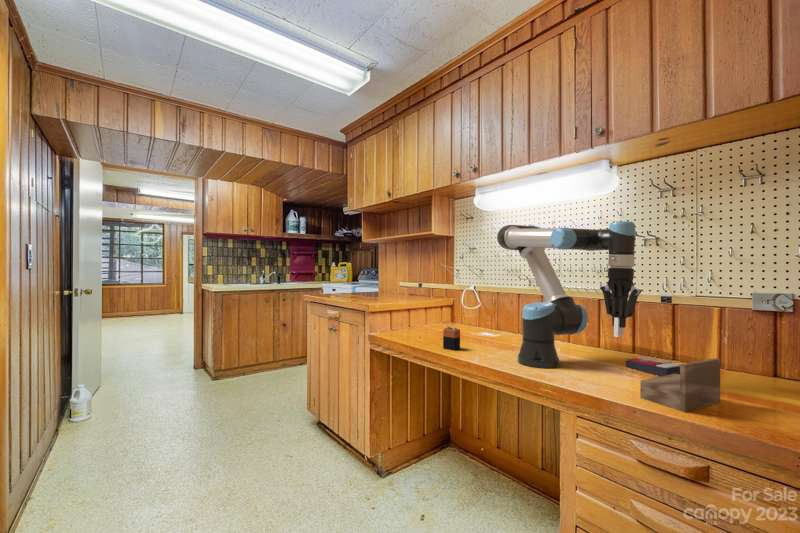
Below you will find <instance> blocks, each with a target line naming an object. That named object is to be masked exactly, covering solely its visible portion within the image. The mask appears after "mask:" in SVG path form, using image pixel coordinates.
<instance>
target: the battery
mask: <svg viewBox="0 0 800 533" xmlns="http://www.w3.org/2000/svg"><path fill="white" fill-rule="evenodd" d="M442 330H443V331H442V334H443V335H442V347H443V349H444V350H449V349H450V351H454V350H455V351H458V349H459V350H460V349H461V329H460V328H457V327H452V326H447V325H446V328H443V329H442Z"/></svg>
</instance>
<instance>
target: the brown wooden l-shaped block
mask: <svg viewBox="0 0 800 533" xmlns="http://www.w3.org/2000/svg"><path fill="white" fill-rule="evenodd" d="M679 364H680V375H679V374H670V375H665V376H655V377H650V378H645V379H641V380H640V382H639V383H640V388H639V390H640V393H639V396H640V399H643V400H646V401H650V402H652V403H656V404H657V405H661V406H665V407H668V408H671V409H674V410H677V411H680V412H683V413H687V412H690V411H691V410H692V411H695V410H698V408H699V409H703V408H705V406H706V407H709V406H711V405H712V404H713V405H716V404H719V403H721V359H720V358H715V357H714V358H709V359H704V360H703V359H702V360H697V361H692V362H687V363H679ZM694 409H695V410H694Z"/></svg>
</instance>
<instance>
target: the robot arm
mask: <svg viewBox="0 0 800 533" xmlns="http://www.w3.org/2000/svg"><path fill="white" fill-rule="evenodd" d="M496 235H497V236H496V242H498V243H497V244H498V245H499V246H500V247H501V248H503V249H505V250H509V251H518V252H519V255H520V257H521V258H522V259H525V260H526V262H527V264H528V266H529V269H530V270H531V273H532V275H533V277H534V279H535V281H536V283H537V286H538V288H539V290H540V292H541V293H540V294H542V297H543V298H544V300H545V301H540V302H538V301H536V302H531V303H527V304H525V305H523V309H522V315H521V318H522V343H521V345H520V346H521V347H520V349H519V353H518V355H517V362H518V363H520V364H521V365H524V366H528V367H532V368H533V367H534V368H541V369H543V368H544V369H550V368H551V369H553V368H556V367H559V366H560V358H559V356H558V352H557V349H556V346H555V336H562V335H563V336H564V335H575V334H580V333H582V332H583V331H584V330H585V329H586V327H587V323H588V322H589V317H588V312H587V310H586V308H585V307H584V306H583V305H580V304H576V302H575V300H574V299H573V297H572V296H570V295H567V293H566V291H565V289H564V288H563V285H562V283H561V281H560V279H559V278H558V275H557V273H556V271H555V269H554V268H553V265H552V263H551V261H550V259H549V257H548V255H547V253H546V252H545V250H546V249H557V250H565V251H566V250H573V251H574V250H577V251H580V250H581V251H589V252H590V251H591V252H593V251H608V259H607V260H608V261H607V262H608V263H607V264H608V266H609V267H608V268H607V279H608V280H607V284H606V285H603V286H600V290H601V292H602V294H603V299H604V300H603V301H604V305H605V310H606V311H605V312H606V314H607V315H610V316H611V318H612V319H611V321H612V322H611V325H612V327H613V337H615V338H621V337H622V338H623V337H624V329H625V328H626V326H627V318H631V317H633V314H634V311H635V308H636V306H637V305H636V304H637V302H638V297H639V296H640V295H641V293H642V289H639V288H637V287H635V284H634V278H635V269H634V268H633V267H635V257H636V256H635V245H636V236H637V234H636V224H635V222H633V221H613V222H610V224H609V227H608V228H605V229H604V228H602V229H591V228H589V229H588V228H572V227H570V228H569V227H557V228H556V227H552V228H551V227H549V228H548V227H547V228H546V227H545V228H544V227H543V228H541V227H540V226H535V225H522V224H521V225H519V224H507V225H504V226H502V227H501V228H500V229H499V230H498V232H497V234H496Z"/></svg>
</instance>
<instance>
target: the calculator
mask: <svg viewBox="0 0 800 533" xmlns="http://www.w3.org/2000/svg"><path fill="white" fill-rule="evenodd" d="M680 364H681V363H678V362H672V361H669V360H666V359H665V360H664V359H660V358H659V359H657V358H653V357H648V356H639V357H634V358H633V357H632V358H627V359H626V360H625V368H626V367H627V368H626V369H630V368H631V369H630V370H634V369H635V371H639V372H641V371H642V372H641V373H647V374H651V375H655V376H656V375H657V376H656V377H660V376H665V375H670V374H679V375H680Z"/></svg>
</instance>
